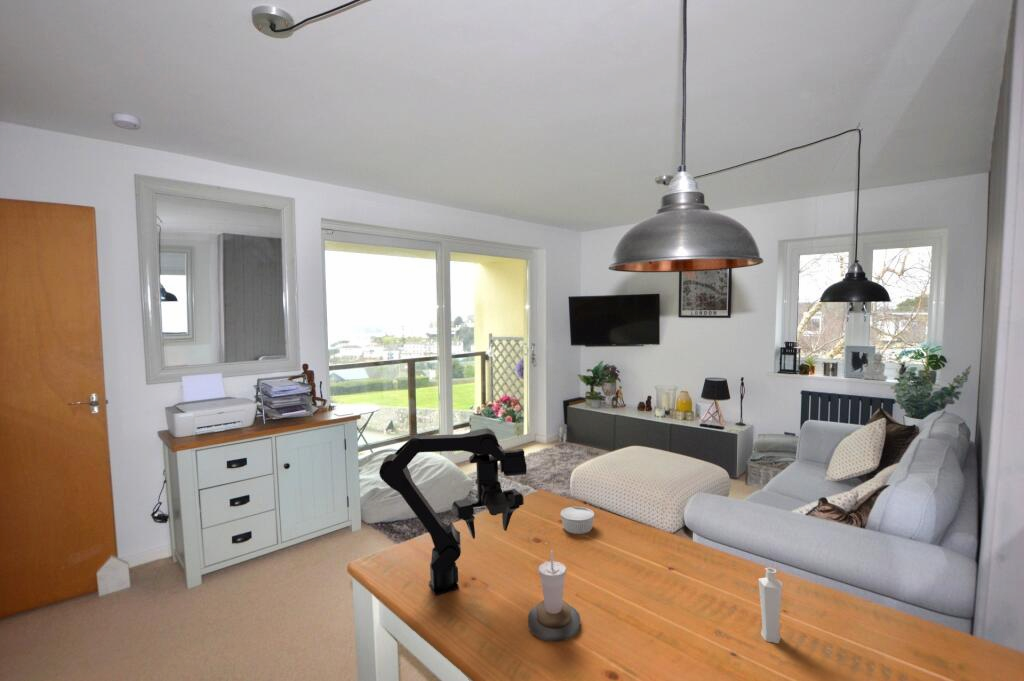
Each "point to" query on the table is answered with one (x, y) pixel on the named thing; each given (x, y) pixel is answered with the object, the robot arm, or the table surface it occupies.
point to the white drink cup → (552, 584)
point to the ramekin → (577, 519)
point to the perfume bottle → (770, 605)
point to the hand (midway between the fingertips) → (489, 534)
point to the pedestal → (554, 622)
